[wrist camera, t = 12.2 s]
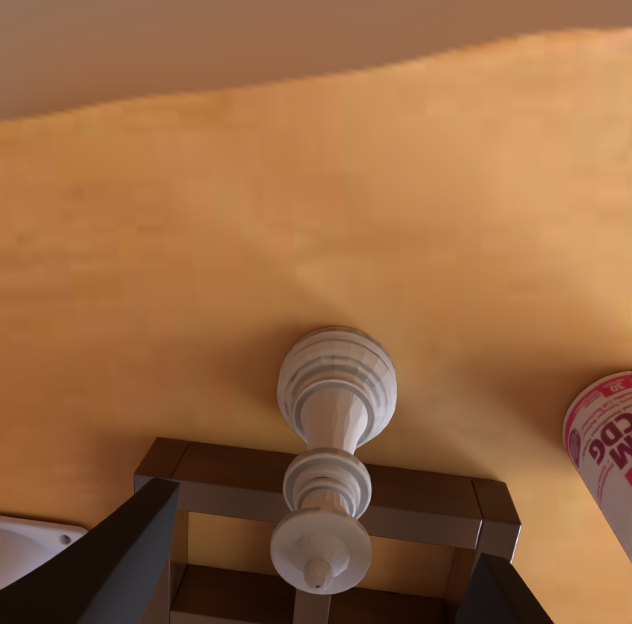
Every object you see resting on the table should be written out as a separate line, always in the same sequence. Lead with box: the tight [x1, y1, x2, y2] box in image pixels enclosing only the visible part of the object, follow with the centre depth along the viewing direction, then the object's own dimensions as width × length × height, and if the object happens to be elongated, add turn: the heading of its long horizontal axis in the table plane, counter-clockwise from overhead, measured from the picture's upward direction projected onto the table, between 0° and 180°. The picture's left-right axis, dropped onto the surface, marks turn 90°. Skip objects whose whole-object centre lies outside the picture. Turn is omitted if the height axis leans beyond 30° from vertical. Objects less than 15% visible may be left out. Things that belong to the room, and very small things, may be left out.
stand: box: [134, 438, 522, 624], centre depth 22 cm, size 14×8×2 cm, turn 85°
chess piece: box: [270, 326, 397, 595], centre depth 16 cm, size 4×4×10 cm
